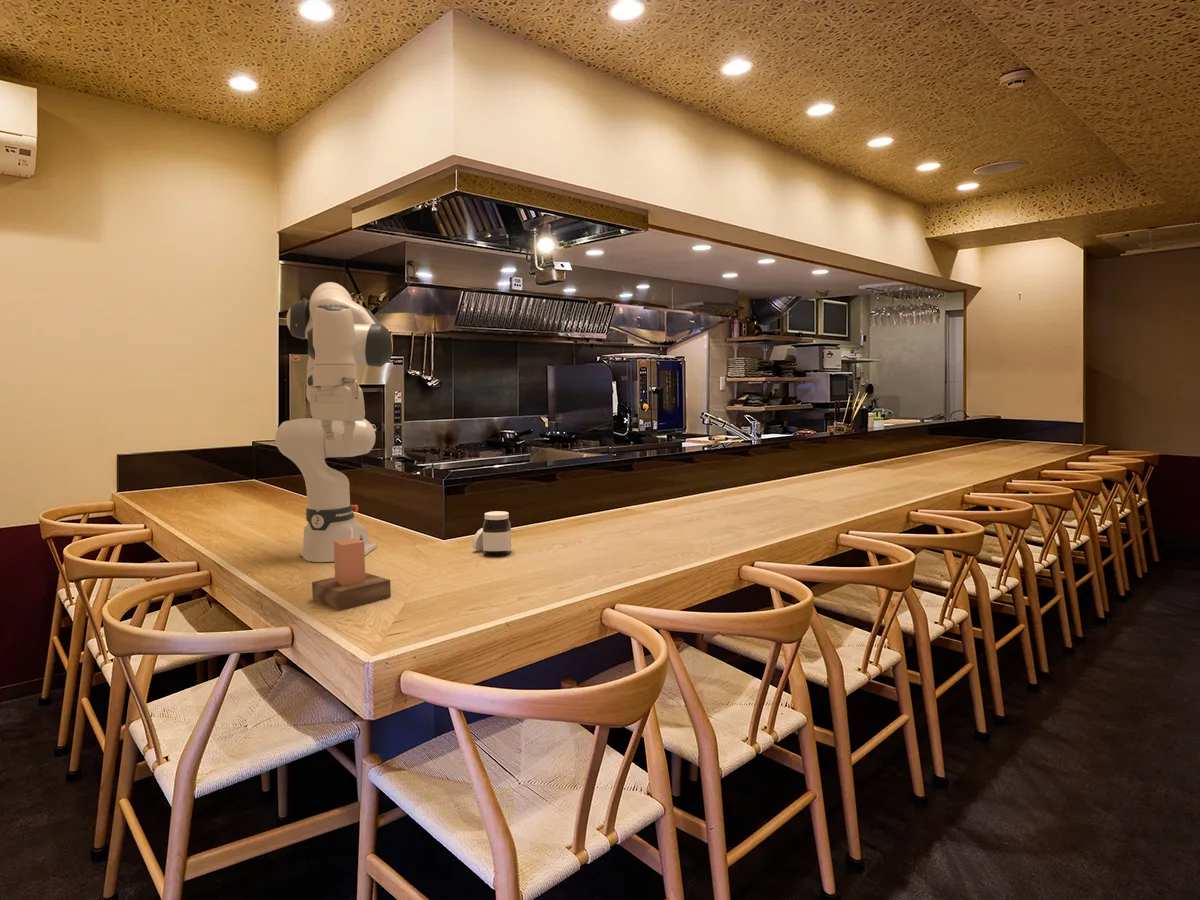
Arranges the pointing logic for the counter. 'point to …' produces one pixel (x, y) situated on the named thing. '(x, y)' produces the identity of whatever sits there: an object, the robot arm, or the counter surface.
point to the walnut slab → (351, 592)
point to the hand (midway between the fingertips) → (338, 441)
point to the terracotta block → (349, 561)
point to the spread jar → (494, 534)
